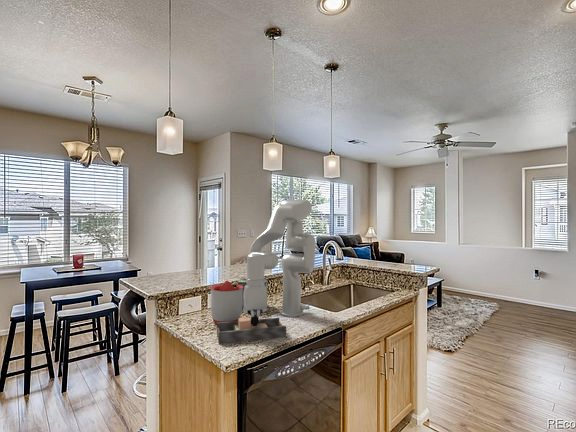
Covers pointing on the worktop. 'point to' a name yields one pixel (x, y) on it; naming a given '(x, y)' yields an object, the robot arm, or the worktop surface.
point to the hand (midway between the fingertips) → (254, 325)
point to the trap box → (250, 331)
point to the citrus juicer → (226, 302)
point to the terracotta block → (244, 323)
